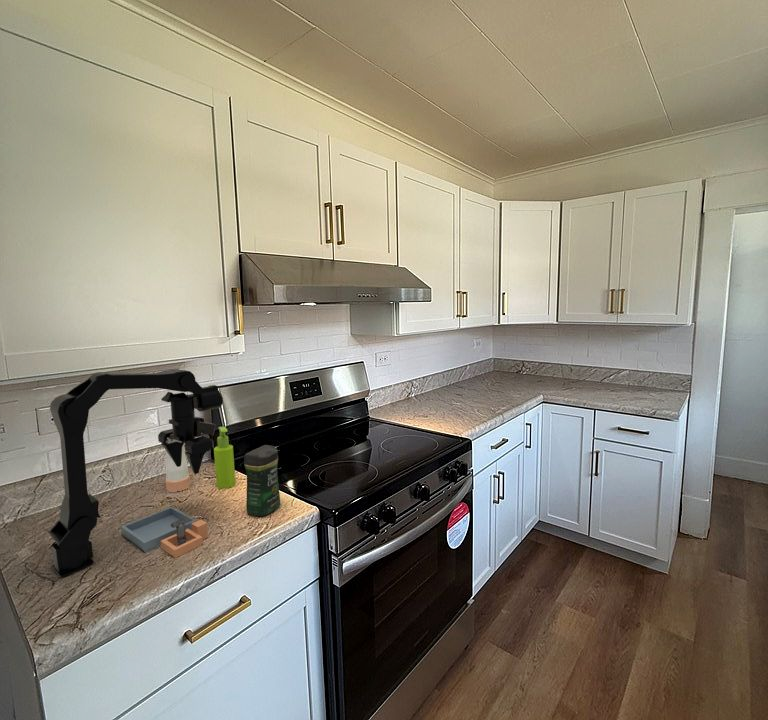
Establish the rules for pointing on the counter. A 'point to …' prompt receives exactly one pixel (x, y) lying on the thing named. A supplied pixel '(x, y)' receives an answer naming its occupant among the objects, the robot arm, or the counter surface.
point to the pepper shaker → (177, 474)
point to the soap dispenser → (224, 461)
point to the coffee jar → (262, 480)
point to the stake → (180, 530)
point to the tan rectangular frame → (194, 536)
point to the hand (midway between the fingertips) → (187, 469)
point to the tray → (154, 528)
